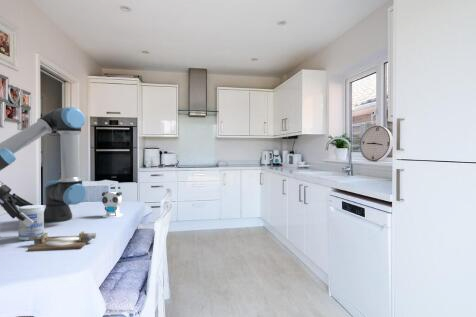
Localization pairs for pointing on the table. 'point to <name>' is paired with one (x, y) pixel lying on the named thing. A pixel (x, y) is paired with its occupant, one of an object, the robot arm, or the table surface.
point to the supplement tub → (35, 215)
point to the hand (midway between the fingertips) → (36, 220)
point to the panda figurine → (112, 204)
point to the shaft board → (60, 242)
